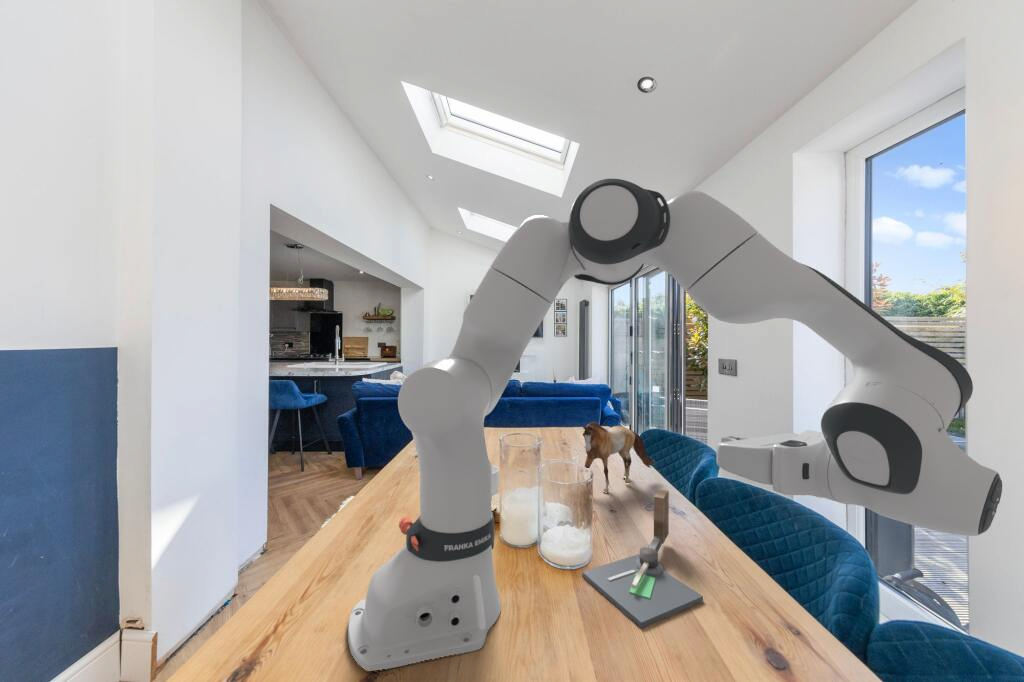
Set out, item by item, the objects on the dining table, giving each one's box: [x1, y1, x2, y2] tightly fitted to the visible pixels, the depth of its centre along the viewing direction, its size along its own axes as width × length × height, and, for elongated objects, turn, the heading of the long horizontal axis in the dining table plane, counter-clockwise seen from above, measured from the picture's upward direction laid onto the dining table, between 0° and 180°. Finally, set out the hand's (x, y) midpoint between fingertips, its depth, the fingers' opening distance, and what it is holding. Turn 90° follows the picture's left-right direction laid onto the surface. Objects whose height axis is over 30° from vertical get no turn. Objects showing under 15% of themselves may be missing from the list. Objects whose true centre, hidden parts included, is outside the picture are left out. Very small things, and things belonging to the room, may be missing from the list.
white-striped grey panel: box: [581, 553, 704, 629], centre depth 66 cm, size 14×14×1 cm
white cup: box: [491, 464, 500, 501], centre depth 97 cm, size 8×8×10 cm
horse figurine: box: [582, 421, 656, 493], centre depth 113 cm, size 31×8×21 cm, turn 127°
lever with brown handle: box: [632, 488, 670, 589], centre depth 72 cm, size 22×3×10 cm, turn 146°
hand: (726, 441), depth 67 cm, fingers closed
